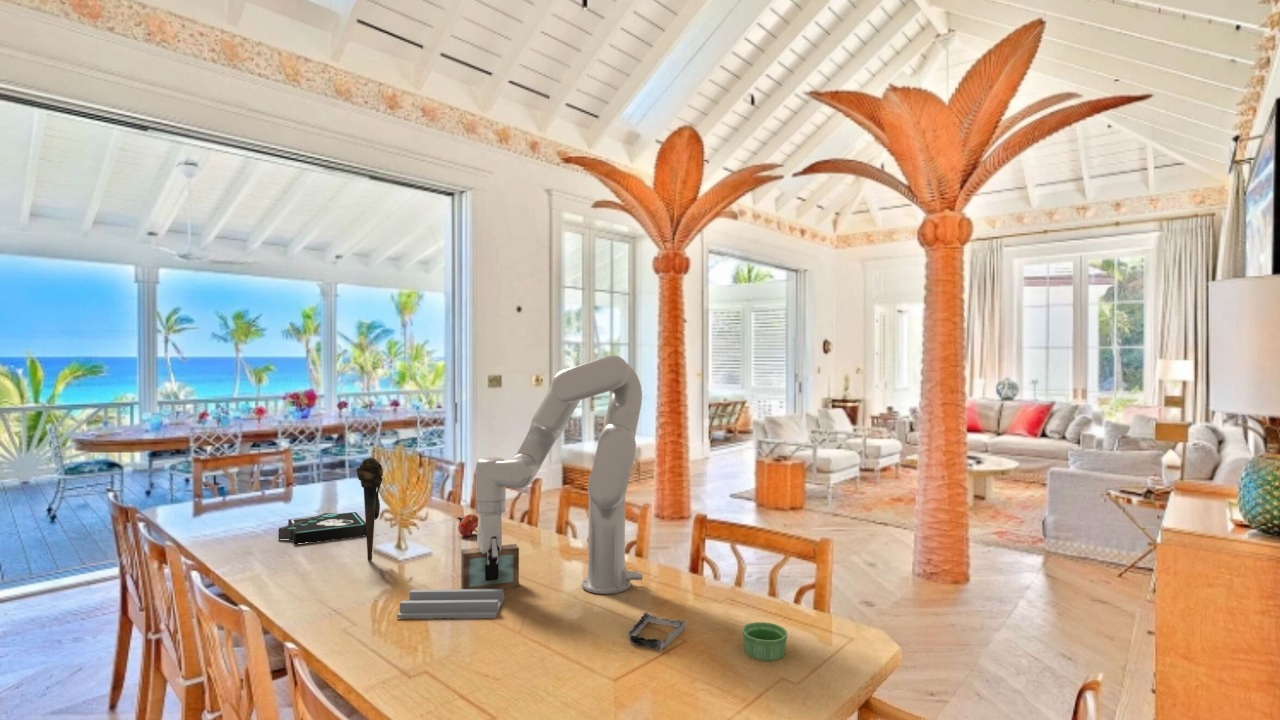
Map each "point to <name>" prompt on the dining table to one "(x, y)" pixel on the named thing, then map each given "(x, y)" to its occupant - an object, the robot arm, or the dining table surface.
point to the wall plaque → (323, 527)
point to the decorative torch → (370, 496)
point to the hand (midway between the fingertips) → (490, 576)
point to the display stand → (452, 604)
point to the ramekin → (764, 641)
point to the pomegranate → (467, 525)
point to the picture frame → (475, 568)
